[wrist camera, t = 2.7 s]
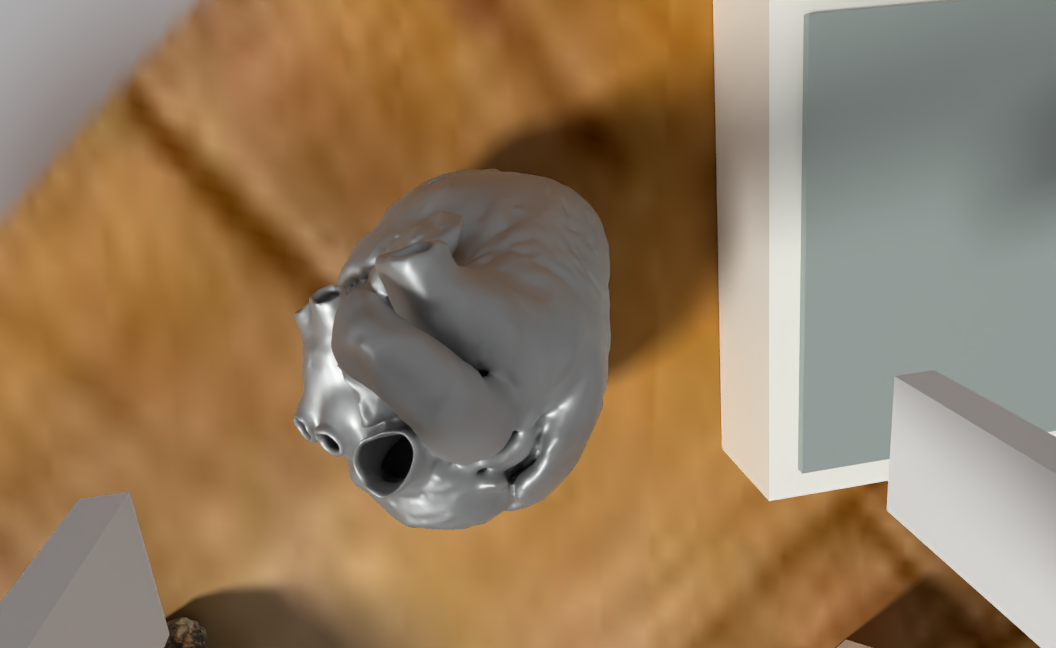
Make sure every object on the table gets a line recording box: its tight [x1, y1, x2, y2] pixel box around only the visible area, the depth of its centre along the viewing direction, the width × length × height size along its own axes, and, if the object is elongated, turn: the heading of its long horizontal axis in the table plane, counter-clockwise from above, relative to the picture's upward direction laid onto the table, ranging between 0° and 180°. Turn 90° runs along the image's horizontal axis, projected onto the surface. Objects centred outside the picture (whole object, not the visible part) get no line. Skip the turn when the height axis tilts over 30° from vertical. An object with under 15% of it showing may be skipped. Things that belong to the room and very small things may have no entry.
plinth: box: [713, 0, 1056, 501], centre depth 26 cm, size 16×16×4 cm
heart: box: [293, 169, 611, 530], centre depth 22 cm, size 10×10×12 cm
